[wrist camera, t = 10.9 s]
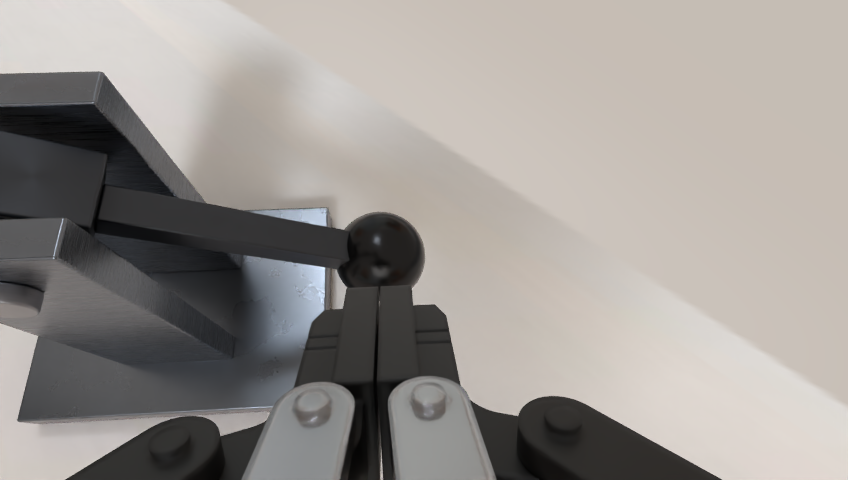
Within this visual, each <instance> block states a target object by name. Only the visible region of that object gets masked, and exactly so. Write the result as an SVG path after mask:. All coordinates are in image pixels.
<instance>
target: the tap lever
mask: <svg viewBox="0 0 848 480" xmlns="http://www.w3.org/2000/svg"><path fill="white" fill-rule="evenodd" d="M107 162H108V155H107V154H106V153H104V152H99V151H95V150H90V149H86V148H81V147H76V146H72V145H67V144H63V143H58V142H54V141H49V140H45V139H40V138H36V137H31V136H26V135H22V134H17V133H13V132H8V131H4V130H0V219H28V218H55V217H65V218H68V219H69V220H71V221H72V222H73V223H75V224H76V225H78V226H79V227H80V228H82V229H83V230H85V231H86V232H88V233H89V234H90V235H92V236H93V237H94V236H95V233H98V234H105V235H112V236H118V237H125V238H132V239H138V240H145V241H152V242H159V243H165V244H172V245H179V246H185V247H192V248H199V249H205V250H212V251H219V252H226V253H232V254H239V255H246V256H252V257H259V258H266V259H272V260H279V261H286V262H293V263H299V264H306V265H313V266H319V267H326V268H333V269H337V271H338V274H339V276H340V278H341V280H342V282H343V283H344V284H345V286H346V287H347V288H359V287H378V290H379V302H380V287H381V286H400V285H411V288H413V287H414V285H415V284H416V283H417V281H418V280H419V278H420V276H421V274H422V272H423V268H424V263H425V250H424V245H423V242H422V239H421V237H420V235H419V233H418V232H417V230H416V229H415V228H414V227H413V226H412V225H411V224H410V223H409V222H408V221H407V220H405V219H404V218H402V217H400V216H398V215H395V214H392V213H387V212H373V213H369V214H365V215H363V216H361V217H358V218H357V219H355V220H354V221H352V222H351V223H350V224H349V225H348V226H347V227H346V228H345V230H341V229H336V228H331V227H326V226H320V225H315V224H310V223H305V222H300V221H295V220H289V219H284V218H279V217H274V216H269V215H263V214H258V213H253V212H248V211H243V210H238V209H232V208H227V207H222V206H217V205H212V204H206V203H201V202H196V201H191V200H186V199H181V198H175V197H170V196H165V195H160V194H155V193H150V192H144V191H139V190H134V189H129V188H124V187H118V186H113V185H108V184H105V180H106V171H107Z"/></svg>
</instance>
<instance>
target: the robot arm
mask: <svg viewBox="0 0 848 480" xmlns="http://www.w3.org/2000/svg"><path fill="white" fill-rule="evenodd" d="M381 449H382V464H383V480H722V479H720V478H718V477H716V476H714V475H713V474H711V473H709V472H707V471H705V470H703V469H702V468H700V467H698V466H696V465H694V464H693V463H691V462H689V461H687V460H685V459H684V458H682V457H680V456H678V455H676V454H674V453H673V452H671V451H669V450H667V449H665V448H664V447H662V446H660V445H658V444H656V443H655V442H653V441H651V440H649V439H647V438H646V437H644V436H642V435H640V434H638V433H636V432H635V431H633V430H631V429H629V428H627V427H626V426H624V425H622V424H620V423H618V422H617V421H615V420H613V419H611V418H609V417H607V416H606V415H604V414H602V413H600V412H598V411H597V410H595V409H593V408H591V407H589V406H588V405H586V404H584V403H581V402H579V401H576V400H574V399H570V398H566V397H559V396H549V397H542V398H537V399H535V400H532V401H530V402H529V403H527V404H526V405H525V406H524V407H523V408H522V409H521V411H520V413H519V416H513V415H507V414H502V413H497V412H493V411H490V410H487V409H484V408H482V407H480V406H478V405H477V404H475V403H473V402H472V401H471V400H470V399H469V397H468V394H467V392H466V391H465V390H464V389H463V388H462V387H461V385H460V381H459V376H458V371H457V366H456V361H455V357H454V352H453V347H452V343H451V337H450V332H449V327H448V323H447V318H446V315H445V314H444V313H443V312H442V311H441V310H440V309H439V308H438V307H437V306H436V305H415V306H413V300H412V288H411V285H400V286H381V287H380V305H379V290H378V287H359V288H347V289H346V295H345V300H344V306H343V309H335V310H324V311H323V312H322V313H321V314H320V315H319V316H318V317H317V318H316V319H315V320H314V321H313V322H312V323H311V327H310V330H309V334H308V339H307V341H306V345H305V351H304V352H303V356H302V359H301V363H300V366H299V370H298V374H297V377H296V381H295V384H294V388H293V389H291V390H290V391H288V392H286V393H285V394H283V395H282V396H281V397H280V398H279V399H278V400H277V401H276V403H275V404H274V406H273V408H272V410H271V412H270V414H269V417H268V419H267V421H265V422H263V423H261V424H259V425H257V426H254V427H251V428H248V429H244V430H241V431H238V432H234V433H231V434H227V435H224V436H220V433H219V429H218V427H217V426H216V424H215V423H214V422H212V421H211V420H209V419H207V418H203V417H197V416H186V417H179V418H174V419H170V420H167V421H165V422H162V423H160V424H157V425H155V426H153V427H151V428H150V429H148V430H146V431H144V432H143V433H141V434H139V435H138V436H136V437H135V438H133V439H131V440H130V441H128V442H126V443H125V444H123V445H121V446H120V447H118V448H117V449H115V450H113V451H112V452H110V453H108V454H107V455H105V456H103V457H102V458H100V459H99V460H97V461H95V462H94V463H92V464H90V465H89V466H87V467H85V468H84V469H82V470H81V471H79V472H77V473H76V474H74V475H72V476H71V477H69V478H67V479H66V480H380V466H381Z"/></svg>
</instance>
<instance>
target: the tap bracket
mask: <svg viewBox="0 0 848 480" xmlns="http://www.w3.org/2000/svg"><path fill="white" fill-rule="evenodd" d="M0 130H4V131H8V132H13V133H17V134H22V135H26V136H31V137H36V138H40V139H45V140H49V141H54V142H58V143H63V144H67V145H72V146H76V147H81V148H86V149H90V150H95V151H99V152H104V153H106V154H107V155H108V162H107V171H106V180H105V184H108V185H113V186H118V187H124V188H129V189H134V190H139V191H144V192H150V193H155V194H160V195H165V196H170V197H175V198H181V199H186V200H191V201H196V202H201V203H206V202H205V201H204V200H203V198H202V197H201V196H200V195H199V193H198V192H197V191H196V189H195V188H194V187H193V186H192V184H191V183H190V182H189V181H188V179H187V178H186V177H185V176H184V174H183V173H182V172H181V170H180V169H179V168H178V167H177V165H176V164H175V163H174V162H173V160H172V159H171V158H170V157H169V155H168V154H167V153H166V151H165V150H164V149H163V148H162V146H161V145H160V144H159V143H158V141H157V140H156V139H155V137H154V136H153V135H152V134H151V132H150V131H149V130H148V129H147V127H146V126H145V125H144V124H143V122H142V121H141V120H140V118H139V117H138V116H137V115H136V113H135V112H134V111H133V110H132V108H131V107H130V106H129V105H128V103H127V102H126V101H125V99H124V98H123V97H122V96H121V94H120V93H119V92H118V91H117V89H116V88H115V87H114V85H113V84H112V83H111V82H110V80H109V79H108V78H107V77H106V75H105V74H104V73H103V72H58V73H15V74H0ZM206 204H207V203H206ZM245 211H248V212H253V213H258V214H263V215H269V216H274V217H279V218H284V219H289V220H295V221H300V222H305V223H310V224H315V225H320V226H326V227H331V228H332V219H331V216H330V213H329V209H328V208H299V209H272V210H245ZM330 286H331V268H326V267H319V266H313V265H306V264H299V263H293V262H286V261H279V260H272V259H266V258H259V257H252V256H246V255H239V254H232V253H226V252H219V251H212V250H205V249H199V248H192V247H185V246H179V245H172V244H165V243H159V242H152V241H145V240H138V239H132V238H125V237H118V236H112V235H105V234H98V233H95V236H94V237H93V236H92V235H90V234H89V233H88V232H86V231H85V230H83V229H82V228H80V227H79V226H78V225H76V224H75V223H73V222H72V221H71V220H69V219H68V218H65V217H55V218H28V219H0V323H1V324H4V325H7V326H10V327H13V328H16V329H19V330H22V331H25V332H28V333H31V334H34V335H37V336H38V339H37V343H36V347H35V351H34V355H33V359H32V363H31V367H30V371H29V375H28V379H27V383H26V387H25V391H24V395H23V399H22V403H21V407H20V411H19V415H18V419H17V420H18V422H24V423H34V424H47V423H65V422H83V421H100V420H118V419H136V418H154V417H172V416H190V415H208V414H226V413H244V412H261V411H271V410H272V408H273V406H274V404H275V403H276V401H277V400H278V399H279V398H280V397H281V396H282V395H283V394H285V393H286V392H288V391H290V390H291V389H293V388H294V384H295V381H296V377H297V374H298V370H299V366H300V363H301V359H302V356H303V352H304V351H305V345H306V341H307V339H308V334H309V330H310V327H311V323H312V322H313V321H314V320H315V319H316V318H317V317H318V316H319V315H320V314H321V313H322V312H323V311H324V310H330Z"/></svg>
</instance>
